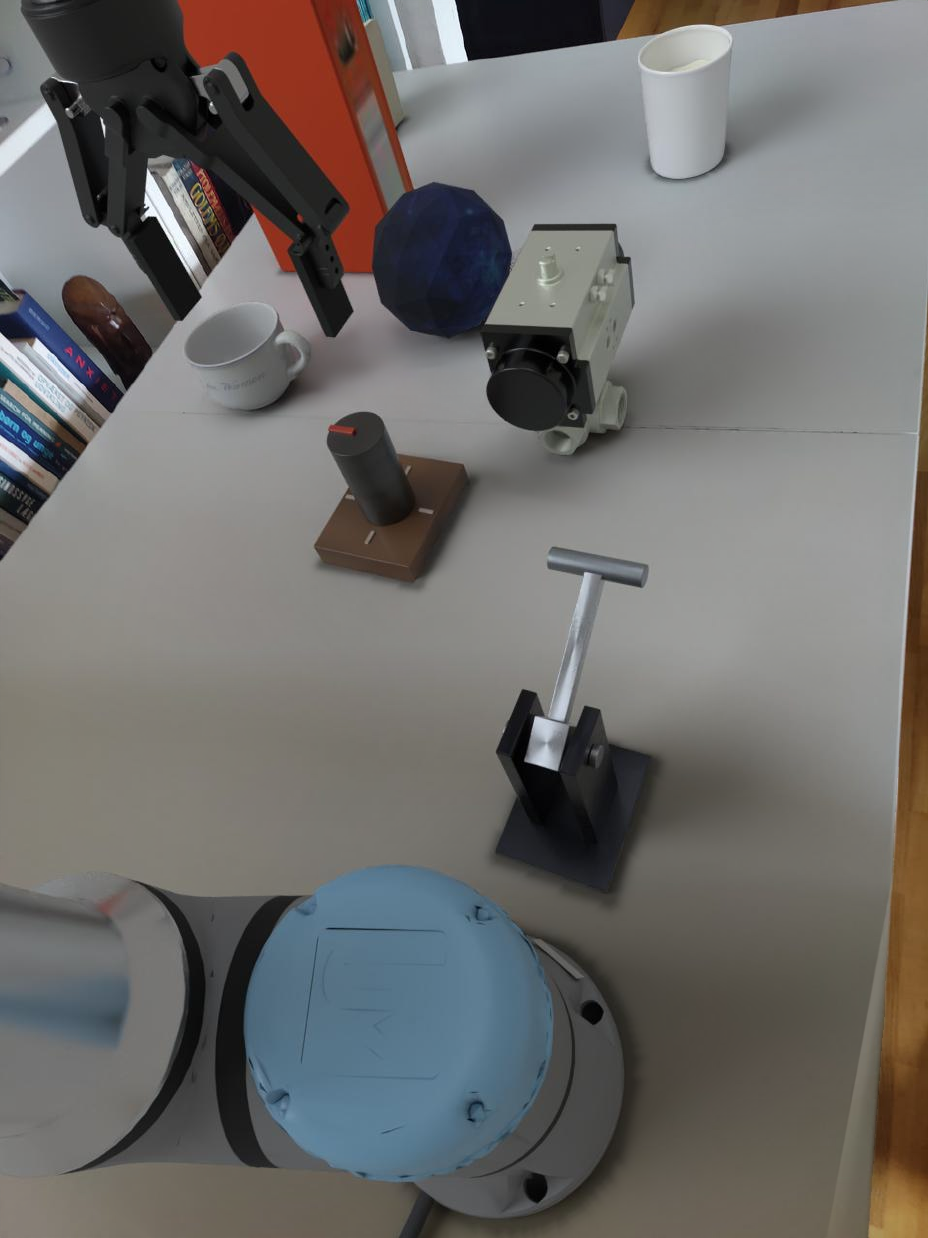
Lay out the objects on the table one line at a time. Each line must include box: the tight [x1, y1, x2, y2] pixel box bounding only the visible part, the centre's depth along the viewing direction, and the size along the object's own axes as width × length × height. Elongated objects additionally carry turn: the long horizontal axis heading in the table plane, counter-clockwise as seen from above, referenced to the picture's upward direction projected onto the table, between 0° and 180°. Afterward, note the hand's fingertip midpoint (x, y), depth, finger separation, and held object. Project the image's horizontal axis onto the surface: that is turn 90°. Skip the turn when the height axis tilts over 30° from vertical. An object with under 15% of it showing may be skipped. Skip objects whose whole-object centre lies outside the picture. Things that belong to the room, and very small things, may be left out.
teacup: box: [181, 300, 313, 411], centre depth 91 cm, size 14×11×8 cm
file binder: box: [177, 0, 415, 274], centre depth 92 cm, size 8×17×32 cm, turn 70°
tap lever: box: [524, 546, 650, 772], centre depth 51 cm, size 13×6×2 cm, turn 157°
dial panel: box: [312, 453, 470, 584], centre depth 78 cm, size 12×10×3 cm
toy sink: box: [363, 18, 405, 128], centre depth 116 cm, size 8×7×13 cm
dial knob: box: [326, 411, 415, 526], centre depth 73 cm, size 5×5×9 cm
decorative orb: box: [372, 181, 513, 339], centre depth 88 cm, size 14×15×15 cm
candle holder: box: [637, 24, 734, 180], centre depth 95 cm, size 10×10×12 cm
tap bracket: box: [494, 688, 653, 895], centre depth 55 cm, size 10×8×13 cm
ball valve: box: [479, 223, 636, 456], centre depth 73 cm, size 18×8×18 cm, turn 159°
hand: (261, 316), depth 60 cm, fingers open, 13 cm apart
